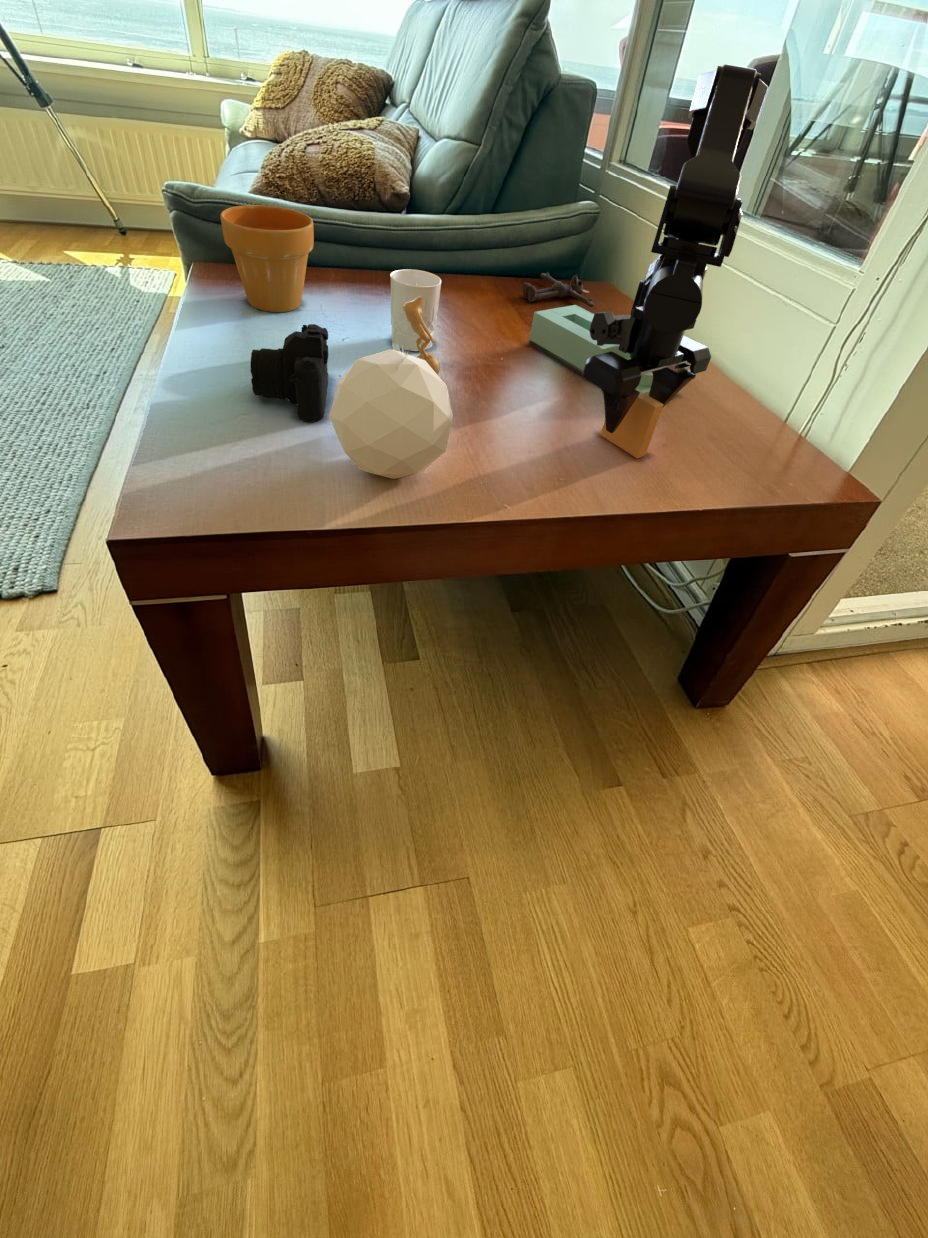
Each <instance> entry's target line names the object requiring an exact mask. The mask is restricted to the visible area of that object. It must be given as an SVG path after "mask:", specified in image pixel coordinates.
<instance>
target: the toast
mask: <svg viewBox="0 0 928 1238" xmlns="http://www.w3.org/2000/svg"><path fill="white" fill-rule="evenodd" d="M635 390H637V389H635ZM637 391H639V390H637ZM639 392H640V394H639V395H638V397H637V399H636V400H635V402H634V403H633V405H632V406H631V408H630V409H629V411H628V412H627V414H626V415H625V417H624V418H623V420H622V422H621V423H620V425H619V426H618V427H617V429H616V430H615V431H614V433H610V432H608V431H607V430H606V422H605V420H604V421H603V425H602V429H601V432H600V436H601V437H602V438H604V439H605V440H607V441H609V442H611V443H612V444H613V445H615V446H617V447H618V448H620V449H621V450H623V451H624V452H626V453H628V454H629V455H631V456H632V457H634V458H635V459H640V458H642V457H645V456H647V455H646V454H647V451H648V449H649V446H650V444H651V441H652V438H653V436H654V432H655V430H656V427H657V425H658V422H659V418H660V416H661V413H662V410H663V409H664V407H663V404H662V403H660V402H658V401H657V400H655V399H653V398H651V397H649V396H648V395H646V394H644V393H642V392H641V391H639Z"/></svg>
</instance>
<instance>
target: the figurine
mask: <svg viewBox="0 0 928 1238" xmlns="http://www.w3.org/2000/svg"><path fill="white" fill-rule="evenodd" d="M423 304H424V302H423V298H422V297H421V296H419V297H418V298H416V299H415V300H413V301H410V302H407V303H406V304H405V305H404V306H403V309H404V312H405V314H406V316H407V320H409V321H410V323H411V326H412V328H413V330H414V332H416V333H417V334H418V335H419V336H420V338H418V339H417V341H416V343H417V348H418V350H419V351H418V352H419V354H418V355H417V356H416V357H417V358H420V359H423V360H425V361H426V362H427V363H428V364H429V365H430V367H431V368H432V369H433V370H434V371H435V373H436V374H437V375H438V376H439V374H440V370H441V364H440V361H439V359H438V358H437V356H435V355H434V354H432V353H429V352H427V350H424V348H426V346H427V345H428V344H429V342H430V340H431V342H432V344H433V346H435V344H436V342H435V337H434V338H433V337H432V336H431V334H430V332H429V330H428V329H427V328H426V325H425V323H424V322H423V319H422V310H421V307H422V305H423ZM409 321H408V322H409ZM421 325H422V327H423V328H422V327H421ZM423 329H424V330H425V331H424V330H423ZM422 340H424V341H425V343H423V344H422V345H421V347H420V345H419V344H420V343H421V342H422Z"/></svg>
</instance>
